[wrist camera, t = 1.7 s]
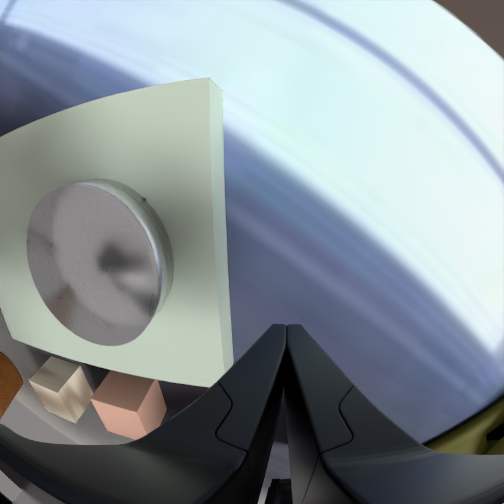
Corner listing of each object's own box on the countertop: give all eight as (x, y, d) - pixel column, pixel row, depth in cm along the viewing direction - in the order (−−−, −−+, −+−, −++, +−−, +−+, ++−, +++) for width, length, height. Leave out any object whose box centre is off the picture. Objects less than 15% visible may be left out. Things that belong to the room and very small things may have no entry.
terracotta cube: (167, 408, 23) (151, 443, 19) (126, 399, 24) (107, 430, 20) (157, 375, 22) (136, 412, 18) (113, 366, 22) (90, 398, 18)
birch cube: (94, 395, 25) (75, 423, 20) (65, 385, 25) (46, 410, 21) (80, 365, 23) (57, 392, 19) (51, 355, 24) (28, 380, 19)
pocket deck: (233, 361, 20) (226, 389, 17) (29, 324, 23) (12, 338, 20) (222, 90, 14) (209, 77, 12) (-5, 148, 17) (-28, 151, 14)
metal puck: (183, 331, 16) (169, 357, 14) (69, 314, 17) (49, 332, 15) (166, 171, 13) (143, 175, 11) (43, 187, 14) (16, 194, 12)
